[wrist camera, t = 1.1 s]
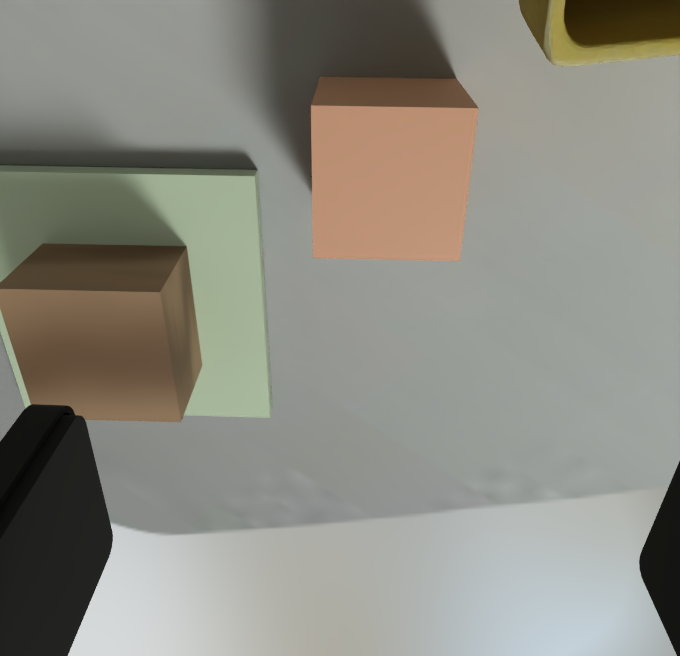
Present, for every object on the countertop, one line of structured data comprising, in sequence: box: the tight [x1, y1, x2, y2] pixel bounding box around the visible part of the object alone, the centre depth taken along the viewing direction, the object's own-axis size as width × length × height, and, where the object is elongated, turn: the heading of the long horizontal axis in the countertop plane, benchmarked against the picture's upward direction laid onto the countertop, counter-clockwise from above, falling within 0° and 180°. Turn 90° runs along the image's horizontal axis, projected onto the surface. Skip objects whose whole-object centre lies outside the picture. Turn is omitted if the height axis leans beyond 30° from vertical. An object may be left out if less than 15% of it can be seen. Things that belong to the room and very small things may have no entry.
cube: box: [311, 77, 479, 261], centre depth 22 cm, size 5×5×5 cm
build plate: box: [0, 165, 272, 417], centre depth 27 cm, size 12×12×1 cm
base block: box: [0, 243, 202, 422], centre depth 25 cm, size 6×6×4 cm
